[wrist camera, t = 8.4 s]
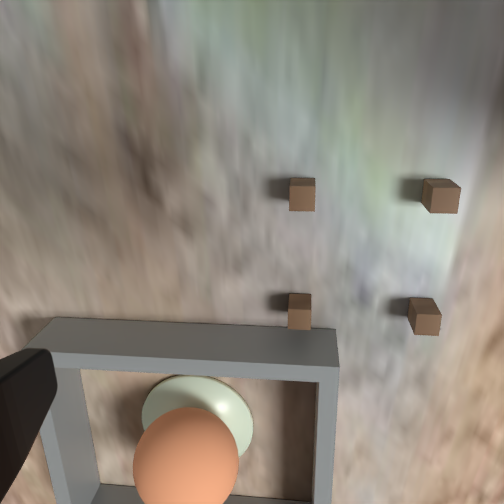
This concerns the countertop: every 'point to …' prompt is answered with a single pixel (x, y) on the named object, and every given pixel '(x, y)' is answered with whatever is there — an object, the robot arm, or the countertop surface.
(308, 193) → the cradle
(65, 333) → the grey shallow tray
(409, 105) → the countertop surface
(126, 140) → the countertop surface
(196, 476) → the ball
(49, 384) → the robot arm
